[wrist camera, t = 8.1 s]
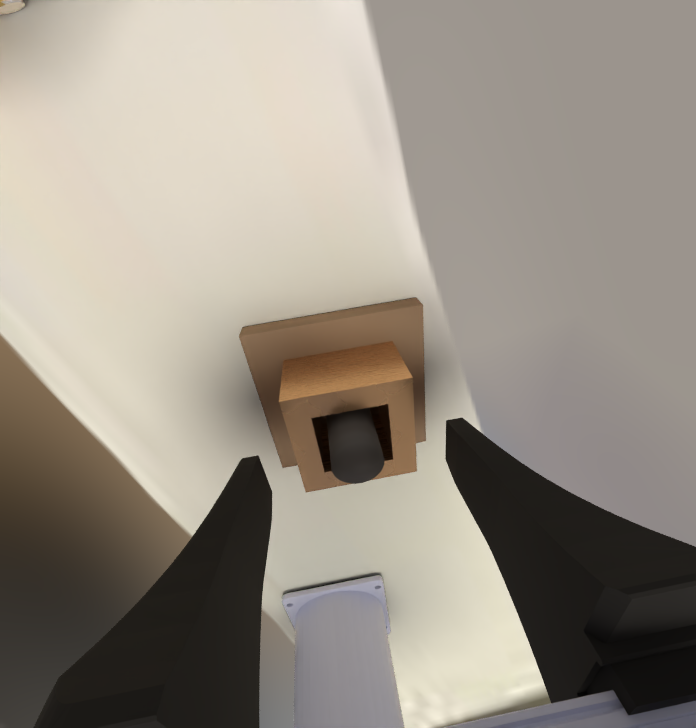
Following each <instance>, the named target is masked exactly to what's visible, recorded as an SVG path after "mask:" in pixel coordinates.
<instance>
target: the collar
mask: <svg viewBox="0 0 696 728" xmlns="http://www.w3.org/2000/svg"><path fill="white" fill-rule="evenodd" d="M279 404H280V407H281V411H282V414H283V417H284V421H285V424H286V427H287V431H288V434H289V437H290V441H291V444H292V447H293V451H294V454H295V457H296V461H297V464H298V467H299V471H300V474H301V477H302V481H303V484H304V487H305V491H306V492H311V491H316V490H321V489H326V488H332V487H337V486H342V485H347V484H353V483H346V482H343V481H341V480H339V479H337V478H336V477H335V476H334V474H333V473H332V470H331V460H330V450H329V440H328V429H327V423H324V424H321V422H320V418H319V417H320V416H325V415H331V414H336V413H342V412H347V411H353V410H358V409H364V408H369V407H375V406H378V413H379V414H373V415H372V418H373V421H374V425H375V428H376V432H377V435H378V439H379V442H380V446H381V449H382V452H383V456H384V466H383V469H382V470H381V472H380V473H379V474H378V475H377V476H376V477H374V478H373V479H371V480H374V479H379V478H384V477H389V476H395V475H400V474H405V473H410V472H415V471H417V466H416V442H415V419H414V395H413V377H412V375H411V374H410V372H409V370H408V368H407V366H406V365H405V363H404V361H403V359H402V357H401V355H400V354H399V352H398V350H397V348H396V346H395V345H394V343H393V341H389V342H383V343H378V344H372V345H366V346H361V347H355V348H349V349H343V350H338V351H332V352H326V353H321V354H315V355H309V356H304V357H298V358H292V359H287V360H283V369H282V378H281V387H280V396H279Z"/></svg>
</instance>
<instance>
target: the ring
mask: <svg viewBox="0 0 696 728" xmlns="http://www.w3.org/2000/svg"><path fill="white" fill-rule="evenodd" d="M24 6H25V4H24V2H23V0H0V14H9V13H13V12H16V11H18V10H20V9H22V8H23V7H24Z"/></svg>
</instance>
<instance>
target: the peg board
mask: <svg viewBox="0 0 696 728" xmlns="http://www.w3.org/2000/svg"><path fill="white" fill-rule="evenodd" d="M239 338H240V341H241V344H242V347H243V350H244V353H245V356H246V359H247V362H248V365H249V368H250V371H251V374H252V377H253V380H254V383H255V386H256V389H257V392H258V395H259V398H260V401H261V404H262V407H263V410H264V413H265V416H266V419H267V422H268V425H269V428H270V431H271V434H272V437H273V440H274V443H275V446H276V449H277V452H278V455H279V458H280V461H281V464H282V467H283V468H285V467H290V466H296V465H298V464H297V461H296V457H295V454H294V451H293V447H292V444H291V441H290V437H289V434H288V431H287V427H286V424H285V421H284V417H283V414H282V411H281V407H280V404H279V396H280V387H281V378H282V369H283V360H287V359H292V358H298V357H304V356H309V355H315V354H321V353H326V352H332V351H338V350H343V349H349V348H355V347H361V346H366V345H372V344H378V343H383V342H389V341H393V343H394V345H395V346H396V348H397V350H398V352H399V354H400V355H401V357H402V359H403V361H404V363H405V365H406V366H407V368H408V370H409V372H410V374H411V375H412V377H413V395H414V419H415V442H416V443H418V442H423V441H426V432H425V385H424V338H423V304H422V303H421V302H420V301H419V300H418V299H417V298H410V299H405V300H399V301H393V302H387V303H381V304H375V305H370V306H364V307H358V308H352V309H346V310H340V311H335V312H329V313H323V314H317V315H311V316H305V317H300V318H294V319H288V320H282V321H276V322H270V323H265V324H259V325H253V326H247V327H243V328H242V330H241V333H240V335H239ZM373 414H379V413H378V406H375V407H369V408H364V409H358V410H353V411H347V412H342V413H336V414H331V415H325V416H320V417H319V418H320V422H321V424H324V423H327V429H328V440H329V450H330V460H331V470H332V473H333V474H334V476H335V477H336V478H337V479H339V480H341V481H343V482H346V483H353V484H356V483H363V482H366V481H369V480H371V479H373V478H374V477H376V476H377V475H378V474H379V473H380V472H381V470H382V469H383V466H384V456H383V452H382V449H381V446H380V442H379V439H378V435H377V432H376V428H375V425H374V421H373V418H372V415H373Z"/></svg>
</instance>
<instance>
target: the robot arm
mask: <svg viewBox="0 0 696 728" xmlns="http://www.w3.org/2000/svg"><path fill="white" fill-rule="evenodd" d="M446 462H447V464H448V467H449V469H450V472H451V474H452V477H453V479H454V482H455V484H456V486H457V488H458V490H459V491H460V493H461V495H462V497H463V499H464V501H465V503H466V504H467V506H468V508H469V510H470V512H471V514H472V515H473V517H474V519H475V521H476V523H477V525H478V526H479V528H480V530H481V532H482V534H483V536H484V537H485V539H486V541H487V543H488V545H489V547H490V549H491V551H492V554H493V556H494V558H495V561H496V563H497V565H498V567H499V570H500V572H501V574H502V577H503V579H504V581H505V584H506V586H507V589H508V591H509V593H510V596H511V598H512V601H513V603H514V606H515V608H516V610H517V613H518V615H519V618H520V621H521V623H522V626H523V628H524V631H525V633H526V636H527V638H528V641H529V643H530V646H531V649H532V651H533V654H534V657H535V659H536V662H537V665H538V668H539V670H540V673H541V676H542V678H543V681H544V684H545V687H546V689H547V692H548V695H549V698H550V701H551V704H547V705H542V706H538V707H533V708H529V709H524V710H519V711H515V712H510V713H506V714H501V715H497V716H492V717H488V718H483V719H478V720H474V721H469V722H465V723H460V724H456V725H451V726H447V727H442V728H696V547H694V546H692V545H689V544H687V543H684V542H682V541H679V540H676V539H674V538H671V537H668V536H666V535H663V534H660V533H658V532H655V531H653V530H650V529H647V528H645V527H642V526H640V525H638V524H635V523H633V522H631V521H629V520H626V519H624V518H622V517H619V516H617V515H614V514H613V513H611V512H608V511H606V510H604V509H602V508H600V507H598V506H595V505H594V504H592V503H590V502H588V501H586V500H584V499H582V498H580V497H578V496H576V495H574V494H572V493H570V492H568V491H566V490H565V489H563V488H561V487H559V486H558V485H556V484H554V483H553V482H551V481H549V480H547V479H546V478H544V477H542V476H541V475H539V474H538V473H536V472H534V471H533V470H531V469H530V468H528V467H527V466H525V465H524V464H522V463H521V462H519V461H518V460H517V459H515V458H514V457H512V456H511V455H510V454H508V453H507V452H505V451H504V450H503V449H501V448H500V447H499V446H497V445H496V444H495V443H493V442H492V441H491V440H490V439H488V438H487V437H486V436H484V435H483V434H482V433H481V432H479V431H478V430H477V429H476V428H474V427H473V426H472V425H471V424H469V423H468V422H467V421H466V420H464V419H463V418H458V419H452V420H447V421H446ZM271 521H272V490H271V488H270V485H269V482H268V480H267V477H266V474H265V472H264V469H263V467H262V464H261V461H260V459H259V456H253V457H248V458H242V459H241V461H240V462H239V464H238V466H237V467H236V469H235V471H234V473H233V474H232V476H231V478H230V480H229V481H228V483H227V485H226V486H225V488H224V490H223V491H222V493H221V495H220V496H219V498H218V499H217V501H216V503H215V504H214V506H213V507H212V509H211V511H210V512H209V514H208V515H207V517H206V518H205V519H204V521H203V522H202V524H201V525H200V527H199V528H198V530H197V531H196V533H195V534H194V535H193V537H192V538H191V540H190V541H189V542H188V544H187V545H186V546H185V548H184V549H183V550H182V551H181V553H180V554H179V555H178V556H177V558H176V559H175V560H174V562H173V563H172V564H171V565H170V566H169V568H168V569H167V570H166V571H165V572H164V573H163V575H162V576H161V577H160V578H159V579H158V581H157V582H156V583H155V584H154V585H153V586H152V587H151V588H150V590H149V591H148V592H147V593H146V594H145V595H144V596H143V597H142V598H141V600H140V601H139V602H138V603H137V604H136V605H135V606H134V607H133V608H132V609H131V610H130V611H129V612H128V613H127V614H126V615H125V616H124V617H123V618H122V619H121V620H120V621H119V622H118V623H117V624H116V625H115V626H114V627H113V628H112V629H111V630H110V631H109V632H108V633H107V634H106V635H105V636H104V637H103V638H102V639H101V640H100V641H99V642H97V643H96V644H95V645H94V646H93V647H92V648H91V649H90V650H89V651H88V652H87V653H85V654H84V655H83V656H82V657H81V658H80V659H79V660H78V661H77V662H76V663H75V664H74V665H73V666H71V667H70V668H69V669H68V670H67V671H66V672H65V673H63V674H62V675H61V676H60V677H59V678H58V680H57V682H56V684H55V686H54V688H53V690H52V691H51V693H50V695H49V697H48V699H47V701H46V703H45V705H44V707H43V709H42V711H41V713H40V715H39V718H38V719H37V722H36V724H35V726H34V728H259V669H260V666H259V664H260V630H261V606H262V591H263V581H264V574H265V566H266V559H267V552H268V544H269V537H270V529H271ZM282 604H283V606H284V608H285V610H286V612H287V614H288V616H289V619H290V621H291V623H292V625H293V627H294V629H295V686H294V728H404V722H403V717H402V711H401V706H400V701H399V695H398V690H397V684H396V679H395V674H394V668H393V663H392V657H391V652H390V646H389V641H388V636H387V634H389V633H390V632H391V630H390V623H389V617H388V610H387V604H386V597H385V591H384V584H383V579H382V577H381V576H378V575H377V576H371V577H366V578H361V579H356V580H351V581H346V582H341V583H336V584H331V585H326V586H321V587H316V588H312V589H307V590H302V591H297V592H292V593H287V594H284V595H283V596H282Z"/></svg>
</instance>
